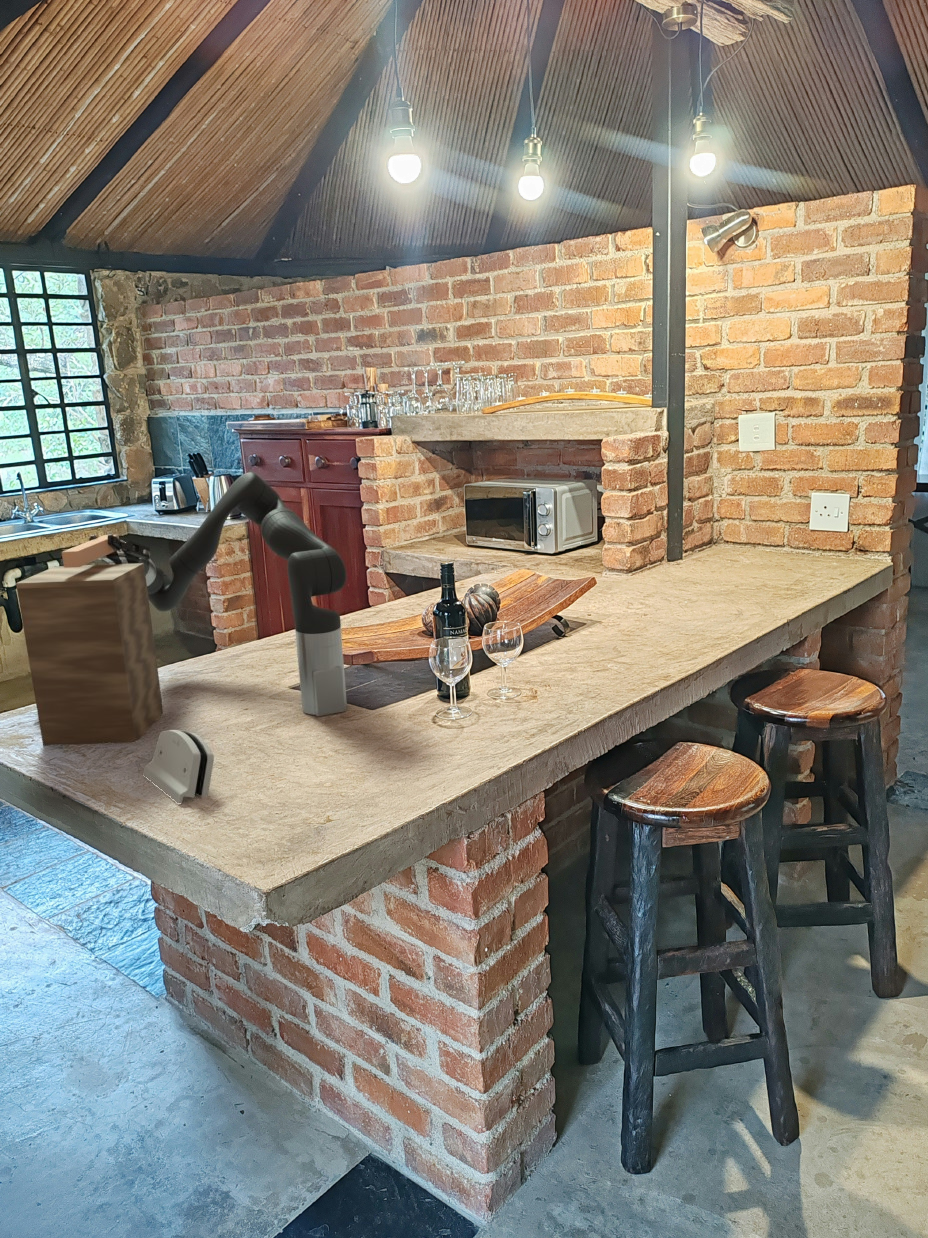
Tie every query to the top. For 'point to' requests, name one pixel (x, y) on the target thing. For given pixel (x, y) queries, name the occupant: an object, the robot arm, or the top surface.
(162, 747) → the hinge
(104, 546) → the tan block
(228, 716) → the top surface
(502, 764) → the top surface
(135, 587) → the pedestal
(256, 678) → the top surface
